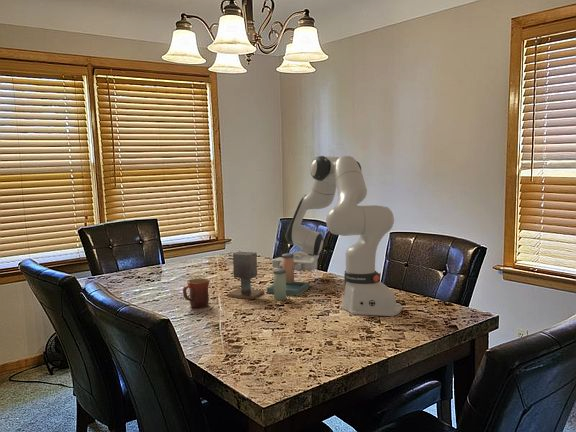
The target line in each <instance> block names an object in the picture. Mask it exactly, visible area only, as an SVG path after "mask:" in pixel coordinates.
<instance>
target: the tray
mask: <svg viewBox="0 0 576 432" xmlns="http://www.w3.org/2000/svg"><path fill="white" fill-rule="evenodd" d="M309 288H310V282H307V281H306V282H304V281H296V280H294V282H292V283H286V296H292V295H296V296H295V297H298V296H299V295H301V294H302V293H304V292H305V291H307V290H308V289H309ZM306 289H307V290H306ZM303 291H304V292H303ZM301 292H302V293H301ZM266 293H267V294H272V293H274V283H273V284H271V285H270V286H267V288H266ZM300 293H301V294H300ZM297 295H298V296H297Z"/></svg>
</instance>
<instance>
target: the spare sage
mask: <svg viewBox="0 0 576 432" xmlns="http://www.w3.org/2000/svg"><path fill="white" fill-rule="evenodd" d="M272 272H273V284H274V294H273V299H275V300H274V301H285V300H287V295H286V270H285V269H279V268H276V269H273V270H272ZM284 299H285V300H284Z"/></svg>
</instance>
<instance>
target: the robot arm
mask: <svg viewBox="0 0 576 432" xmlns="http://www.w3.org/2000/svg"><path fill="white" fill-rule="evenodd" d="M310 175H311V177H312V179H313V181H312V182H311V188H310V191H308V193H307V194H304V195H303V196H302V197H301V199H300V200H299V202H298V205H297V207H296V209H295V211H294V214H293V216H292V219H291V221H290V223H289V225H288V228H286V229H287V230H286V232H285V233H284V236H285V237H284V238H285V240H286V242H287V244H289V245H293V246H295V247H299V248H302V249H300V250H298V251H296V252H293V253H292V254H294V265H293V266H292V267H293V268H292V269H293V270H294V271H296V272H302V271H315V270H317V269H318V259H319V257H320V255H321V253H322V251H323V249H324V245H325V241H324V240H325V239H324V237H323V234H322V233H320V232H318V231H315V230H313V229H309V228H307V227H305V226H303V225H302V222H303V219H304V217H305V214H306V212H307V211H308V210H320V209H325V208H327V207H329V206H331V204H332V203H333V201H334V198H335V195H336V191H337V196H338V199H337V203H336V204H335V206H334V207H333V208H331V209H330V210H329V211H328V212H327V215H326V219H325V222H326V223H325V224H326V227H327V229H328V231H329V232H330V233H331V234H332V235H335V236H343V237H347V236H359V238H358V240H357V241H356V242H355V243H354V244H352V245H350V246H349V247H348V248H347V249H346V251H345V270H344V273H343V274H344V285H345V286H344V294H343V301H342V303H341V308H342V309H343V310H345V311H347V312H349V314H350V315H363V316H380V317H381V316H382V317H393V316H397V315H399V314H400V313H402V310H403V307H402V304H401V303H398V302H397V300H396V296H395V293H394V291H393V290H392V289H391V288H390V287H388V286H387V285H385V283H384V282H382V281H381V274H382V273H381V272H378V271H376V256H377V255H376V254H377V250H378V246H379V244H380V242H381V241H382V239H383V238H384V237H385V236H386V234H387V233H389V232H390V231H391V229H392V228H393V226H394V223H395V217H394V214H393V212H392V210H391V209H390V207H388V206H383V205H359V204H361V203H362V202H363V201H364V200H365V198H367V195H368V189H367V185H366V181H365V179H364V176H363V173H362V166H361V164H360V162H359V161H358V160H356V159H355V158H354V157H353V156H351V155H343V156H340V157H339V156H325V155H320V156H319V155H318V156H316V157H314V158H313V159H312V161H311V165H310ZM271 266H272V268H276V269H282V256H281V257H276V258H273V259H272V260H271Z"/></svg>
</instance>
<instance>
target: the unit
mask: <svg viewBox="0 0 576 432" xmlns="http://www.w3.org/2000/svg"><path fill="white" fill-rule="evenodd" d="M257 257H258V256H257V252H251V251H238V252H235V253H233V254H232V260H233V261H232V263H233V266H232V267H233V278H235V279H240V287H239V288H237V289H235V290H233V291H231V292H228V294H227V297H228V298H235V299H244V300H245V299H246V300H253V301H254V300H255V299H257V298H258V297H260V296H262V295H263V294H265V290H262V289H261V290H260V289H252V285H251V282H252V281H251V279H253V278H255V277H257V276H258V258H257Z"/></svg>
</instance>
